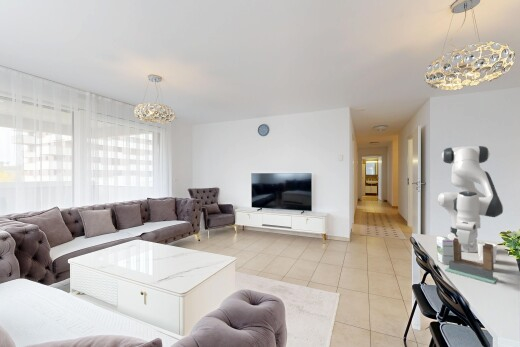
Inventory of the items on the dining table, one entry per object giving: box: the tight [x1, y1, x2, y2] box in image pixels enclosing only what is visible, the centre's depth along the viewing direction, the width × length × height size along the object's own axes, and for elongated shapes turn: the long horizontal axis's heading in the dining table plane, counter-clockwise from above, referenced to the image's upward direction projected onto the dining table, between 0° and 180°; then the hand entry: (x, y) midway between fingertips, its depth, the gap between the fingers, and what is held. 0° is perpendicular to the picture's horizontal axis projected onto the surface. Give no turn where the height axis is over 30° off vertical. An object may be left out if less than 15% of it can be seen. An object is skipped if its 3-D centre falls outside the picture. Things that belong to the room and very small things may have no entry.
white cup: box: [477, 241, 498, 264], centre depth 128 cm, size 8×8×10 cm
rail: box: [448, 260, 494, 280], centre depth 112 cm, size 3×16×4 cm, turn 36°
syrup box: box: [436, 236, 454, 266], centre depth 126 cm, size 6×6×14 cm
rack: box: [453, 238, 495, 271], centre depth 122 cm, size 7×16×13 cm, turn 36°
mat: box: [444, 266, 498, 285], centre depth 112 cm, size 9×18×1 cm, turn 36°
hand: (468, 249), depth 112 cm, fingers open, 8 cm apart
